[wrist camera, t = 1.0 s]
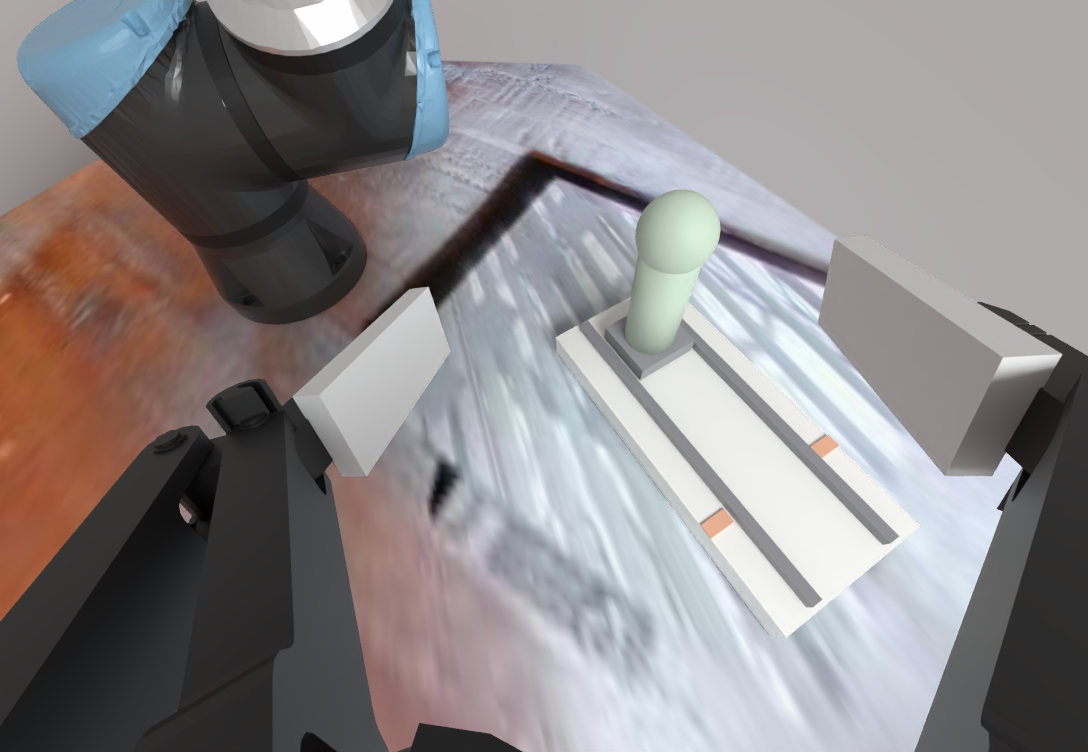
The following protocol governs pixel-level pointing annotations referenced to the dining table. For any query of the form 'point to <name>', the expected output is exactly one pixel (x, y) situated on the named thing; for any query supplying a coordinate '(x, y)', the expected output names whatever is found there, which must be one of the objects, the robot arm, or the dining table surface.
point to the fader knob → (664, 279)
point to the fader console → (742, 469)
